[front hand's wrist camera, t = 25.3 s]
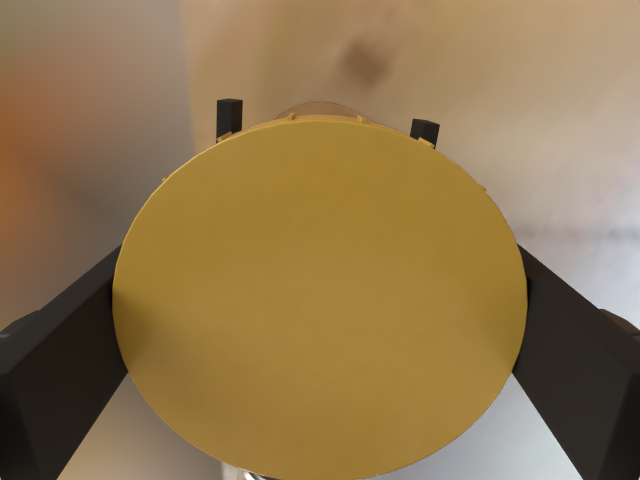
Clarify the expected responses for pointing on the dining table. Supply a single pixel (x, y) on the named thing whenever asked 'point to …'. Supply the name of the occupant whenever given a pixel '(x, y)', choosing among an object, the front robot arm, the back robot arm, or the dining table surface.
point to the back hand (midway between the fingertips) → (328, 111)
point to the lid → (319, 299)
